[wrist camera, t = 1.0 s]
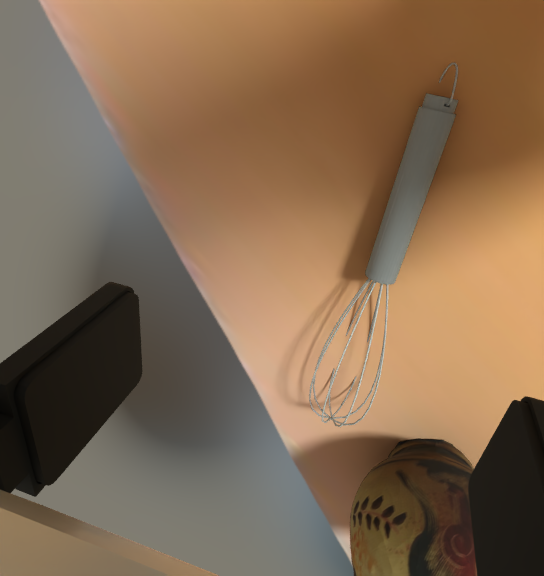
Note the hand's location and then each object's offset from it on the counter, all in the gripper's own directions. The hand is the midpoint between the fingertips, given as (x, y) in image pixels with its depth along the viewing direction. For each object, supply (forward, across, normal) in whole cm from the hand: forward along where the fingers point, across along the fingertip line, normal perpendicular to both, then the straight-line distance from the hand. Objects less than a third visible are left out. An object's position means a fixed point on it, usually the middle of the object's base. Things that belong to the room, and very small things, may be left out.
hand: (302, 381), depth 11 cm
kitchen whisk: (+29, -2, +10) cm, 31 cm away
